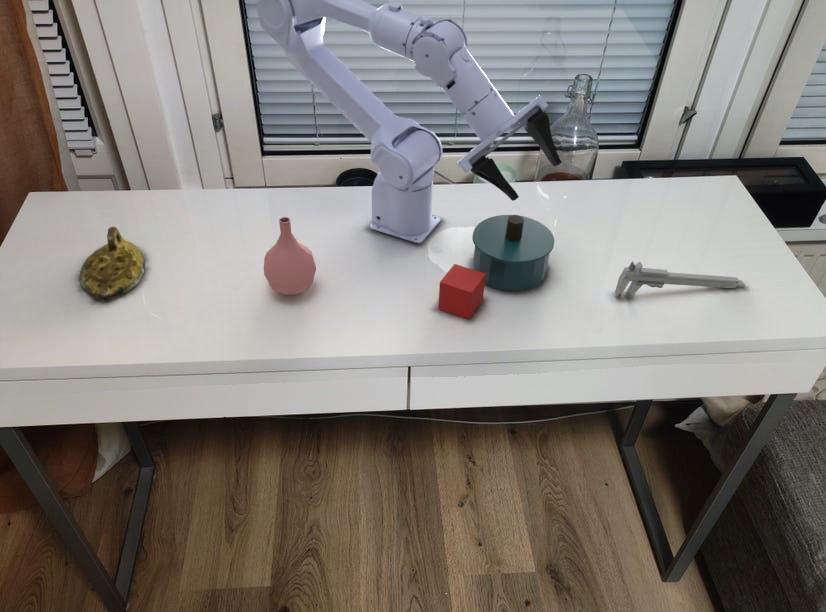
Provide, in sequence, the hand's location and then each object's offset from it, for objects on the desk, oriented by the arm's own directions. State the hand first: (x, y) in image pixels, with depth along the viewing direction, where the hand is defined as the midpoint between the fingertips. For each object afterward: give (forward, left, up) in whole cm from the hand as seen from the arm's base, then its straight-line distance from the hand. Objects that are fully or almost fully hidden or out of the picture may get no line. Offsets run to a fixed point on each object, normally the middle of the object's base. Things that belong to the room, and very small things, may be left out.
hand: (536, 181), depth 108 cm
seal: (-55, -31, -15) cm, 65 cm away
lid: (-2, -1, -10) cm, 10 cm away
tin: (-2, -1, -15) cm, 15 cm away
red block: (-5, -13, -15) cm, 21 cm away
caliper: (+23, +6, -15) cm, 28 cm away
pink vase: (-29, -21, -15) cm, 39 cm away
